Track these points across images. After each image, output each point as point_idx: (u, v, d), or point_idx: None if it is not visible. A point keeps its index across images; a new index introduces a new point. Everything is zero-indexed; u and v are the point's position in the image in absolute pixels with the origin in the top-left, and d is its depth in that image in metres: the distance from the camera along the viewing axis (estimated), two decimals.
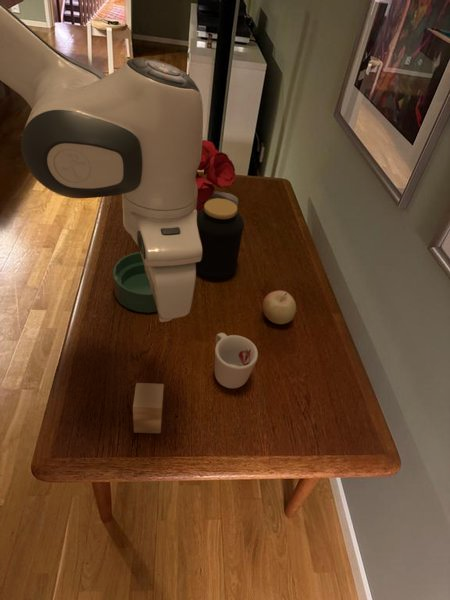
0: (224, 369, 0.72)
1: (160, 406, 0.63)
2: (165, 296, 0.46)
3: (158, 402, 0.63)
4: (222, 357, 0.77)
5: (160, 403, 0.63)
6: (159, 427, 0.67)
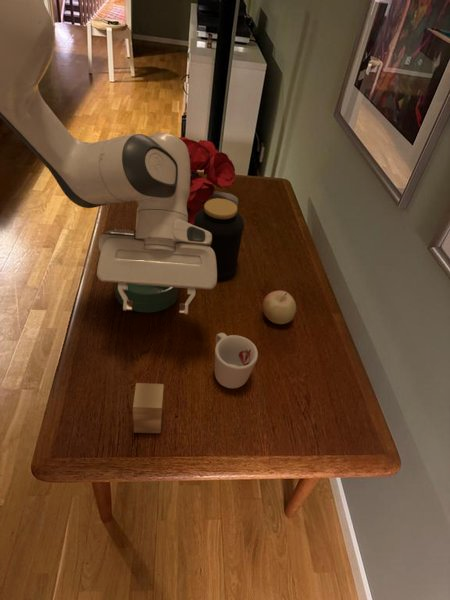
0: (224, 369, 0.72)
1: (160, 406, 0.63)
2: None
3: (158, 402, 0.63)
4: (222, 357, 0.77)
5: (160, 403, 0.63)
6: (159, 427, 0.67)
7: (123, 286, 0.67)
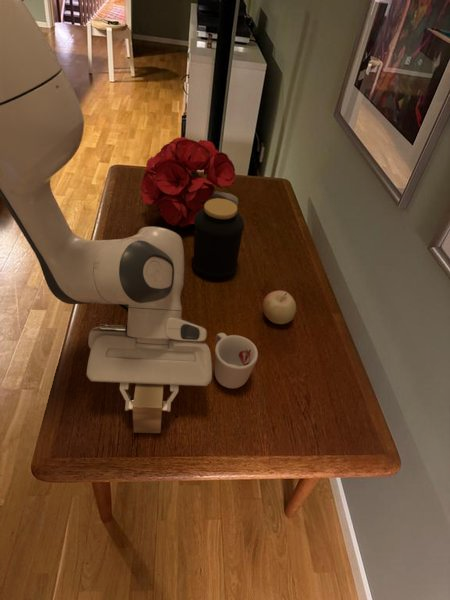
0: (224, 369, 0.72)
1: (160, 406, 0.63)
2: None
3: (158, 402, 0.63)
4: (222, 357, 0.77)
5: (160, 403, 0.63)
6: (159, 427, 0.67)
7: (125, 386, 0.65)
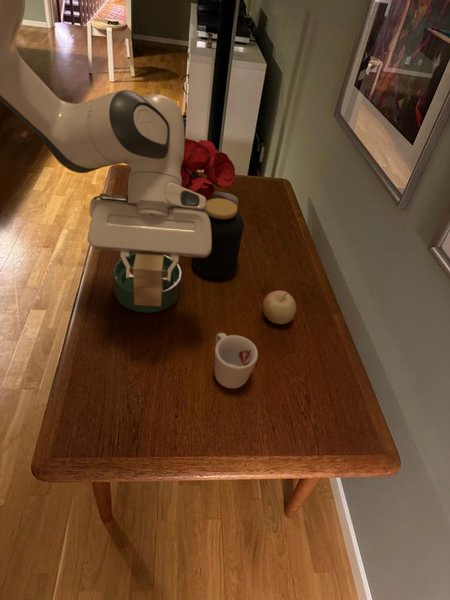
0: (224, 369, 0.72)
1: (160, 269, 0.64)
2: None
3: (158, 266, 0.64)
4: (222, 357, 0.77)
5: (160, 267, 0.64)
6: (159, 298, 0.68)
7: (126, 253, 0.66)
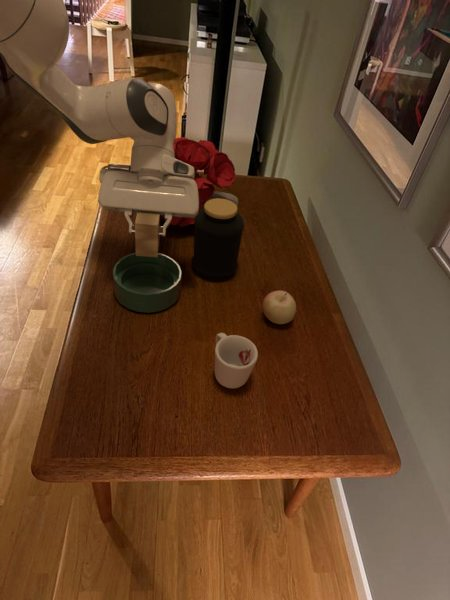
0: (224, 369, 0.72)
1: (157, 224, 0.79)
2: None
3: (155, 222, 0.79)
4: (222, 357, 0.77)
5: (157, 222, 0.79)
6: (156, 249, 0.83)
7: (129, 212, 0.81)
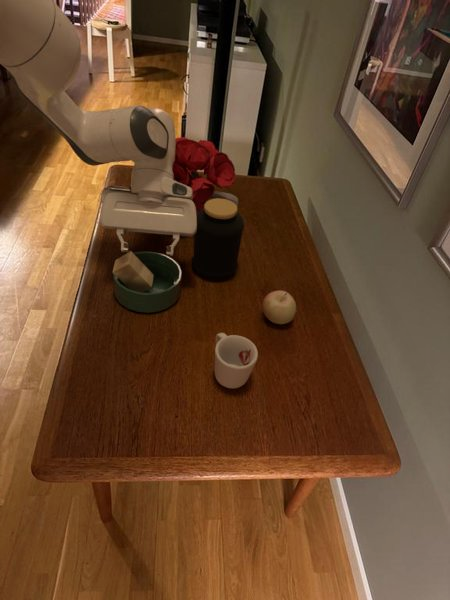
0: (224, 369, 0.72)
1: (127, 263, 0.85)
2: (196, 215, 0.86)
3: (126, 262, 0.86)
4: (222, 357, 0.77)
5: (128, 261, 0.85)
6: (145, 282, 0.89)
7: (121, 231, 0.84)
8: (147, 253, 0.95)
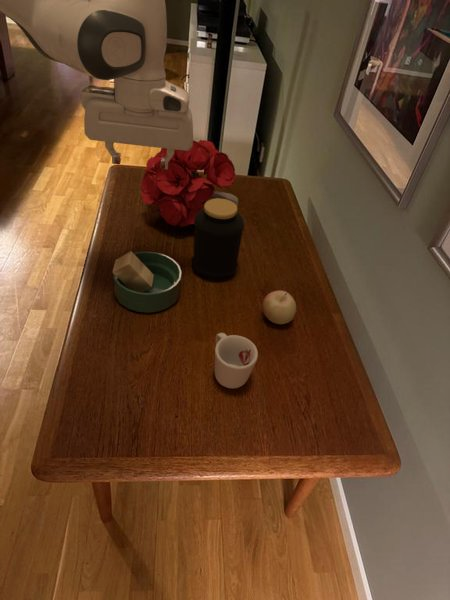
0: (224, 369, 0.72)
1: (127, 263, 0.85)
2: (192, 128, 0.75)
3: (126, 262, 0.86)
4: (222, 357, 0.77)
5: (128, 261, 0.85)
6: (145, 282, 0.89)
7: (109, 144, 0.76)
8: (147, 253, 0.95)
